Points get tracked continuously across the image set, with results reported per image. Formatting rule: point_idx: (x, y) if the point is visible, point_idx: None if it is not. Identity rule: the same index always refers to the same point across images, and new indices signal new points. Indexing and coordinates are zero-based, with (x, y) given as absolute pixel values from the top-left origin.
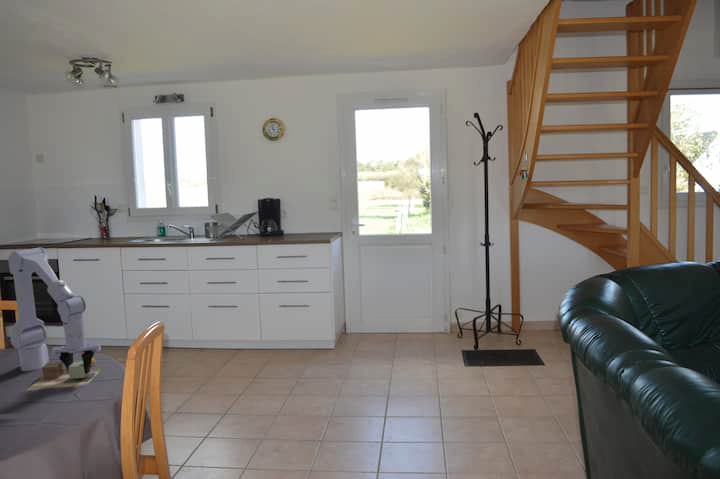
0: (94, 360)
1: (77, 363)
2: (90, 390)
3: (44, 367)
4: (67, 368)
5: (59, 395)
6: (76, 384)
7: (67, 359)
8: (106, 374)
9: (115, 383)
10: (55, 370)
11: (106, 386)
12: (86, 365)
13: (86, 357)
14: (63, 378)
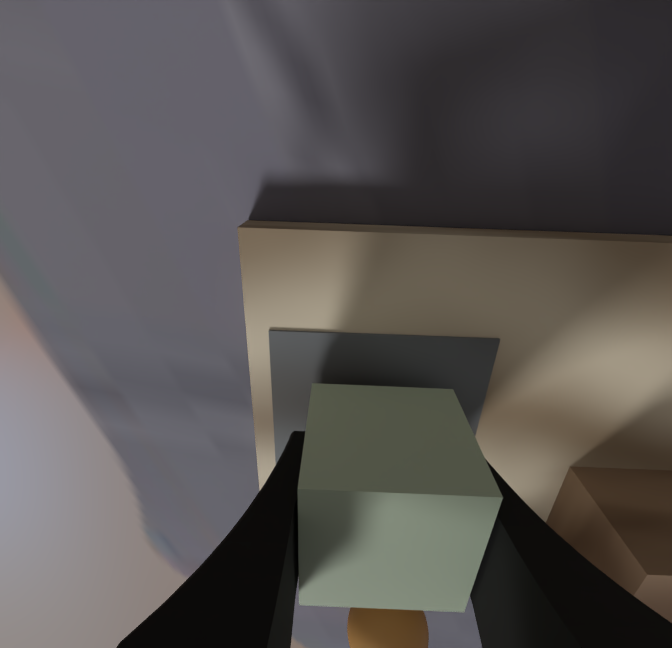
0: (351, 645)
1: (407, 571)
2: (187, 174)
3: None
4: (509, 494)
5: (480, 104)
6: (355, 283)
7: (564, 640)
8: (222, 484)
9: (31, 299)
10: (629, 530)
11: (75, 245)
12: (263, 503)
13: (171, 637)
14: (519, 447)
